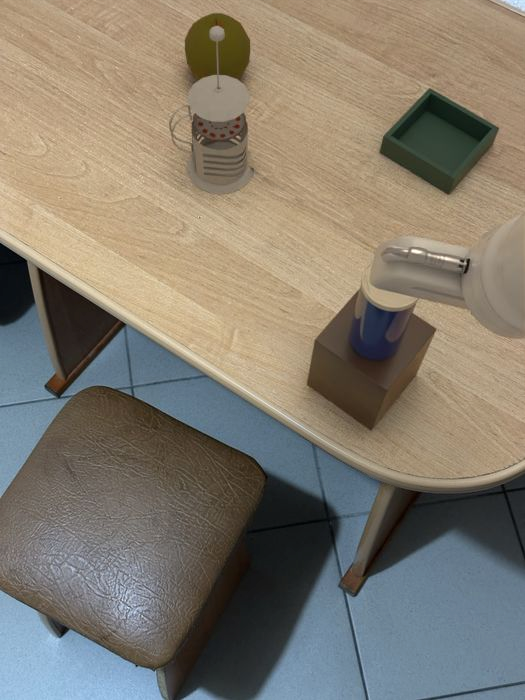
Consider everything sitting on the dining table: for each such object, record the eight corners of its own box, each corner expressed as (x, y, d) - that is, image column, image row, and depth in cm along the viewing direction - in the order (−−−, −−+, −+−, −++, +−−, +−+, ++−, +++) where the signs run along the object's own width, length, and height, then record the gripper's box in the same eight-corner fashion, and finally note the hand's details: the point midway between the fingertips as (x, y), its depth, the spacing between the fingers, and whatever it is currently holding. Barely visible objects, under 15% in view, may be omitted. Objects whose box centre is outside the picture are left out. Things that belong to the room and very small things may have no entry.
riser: (416, 374, 106) (436, 328, 96) (371, 431, 102) (387, 390, 92) (352, 330, 109) (365, 281, 98) (306, 384, 105) (314, 339, 94)
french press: (261, 188, 119) (266, 52, 97) (180, 200, 118) (166, 66, 95) (247, 136, 123) (249, -6, 101) (169, 147, 122) (154, 6, 100)
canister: (412, 333, 95) (435, 277, 84) (382, 371, 93) (401, 318, 82) (368, 303, 97) (384, 244, 86) (336, 340, 94) (349, 284, 84)
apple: (235, 108, 126) (235, 51, 116) (176, 90, 127) (171, 32, 117) (259, 62, 130) (261, 4, 120) (201, 45, 131) (198, -14, 122)
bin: (491, 148, 124) (499, 127, 120) (447, 198, 119) (454, 179, 115) (423, 108, 127) (429, 87, 123) (378, 156, 122) (383, 135, 118)
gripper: (381, 288, 61) (348, 307, 75) (646, 350, 62) (566, 357, 76) (399, 205, 62) (363, 239, 75) (662, 268, 63) (580, 290, 76)
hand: (467, 299), depth 76 cm, fingers open, 8 cm apart
